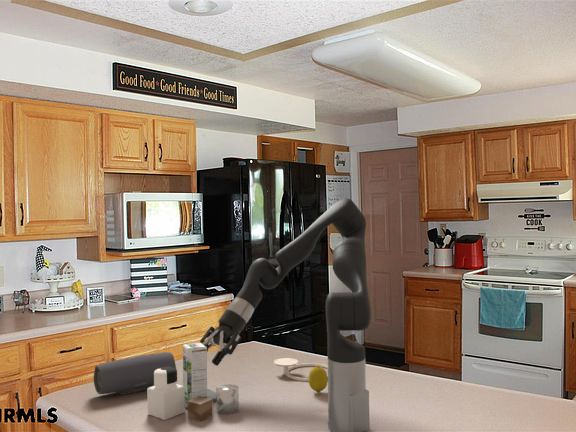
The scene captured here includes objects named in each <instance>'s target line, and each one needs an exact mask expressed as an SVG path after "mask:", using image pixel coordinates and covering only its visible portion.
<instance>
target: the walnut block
mask: <svg viewBox="0 0 576 432" xmlns="http://www.w3.org/2000/svg"><path fill="white" fill-rule="evenodd" d="M211 417H213V402H212V399H209V398H205V397H201V396H198V397H196V398H194V399H191V400H189V401H188V409H187V419H190V420H194V421H196V422H197V421H198V422H200V423H201V422H203V421H204V420H207V419H209V418H211Z"/></svg>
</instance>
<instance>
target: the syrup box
mask: <svg viewBox="0 0 576 432" xmlns="http://www.w3.org/2000/svg"><path fill="white" fill-rule="evenodd" d="M182 386H184V387H185V396H186V398H187V399H188V400H191V399H194V398H196V397H198V396H201V397H207V389H208V351H207V347H205V346H204V345H203V344H202V343H200V342H191V343H185V344H183V345H182Z"/></svg>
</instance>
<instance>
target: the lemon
mask: <svg viewBox="0 0 576 432" xmlns="http://www.w3.org/2000/svg"><path fill="white" fill-rule="evenodd" d="M327 376H328V372H327V371H326V370H325V368H323V367H320V366H316V367H313V368H311V370H310V372H309V373H308V378H309V382H308V384H309V387H310V388H311V389H312V390H313V391H315V393H317V394H319V393H321V391H324V390H325V389H326V388H327V387H328V378H327Z"/></svg>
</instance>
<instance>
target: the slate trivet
mask: <svg viewBox="0 0 576 432" xmlns="http://www.w3.org/2000/svg"><path fill="white" fill-rule="evenodd" d="M205 398H209V399H212V403H214V402H216V391H213V390H212V389H209V388H207V397H205ZM188 401H189V400H188V399H187V398H186V396H185V410H188Z"/></svg>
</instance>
